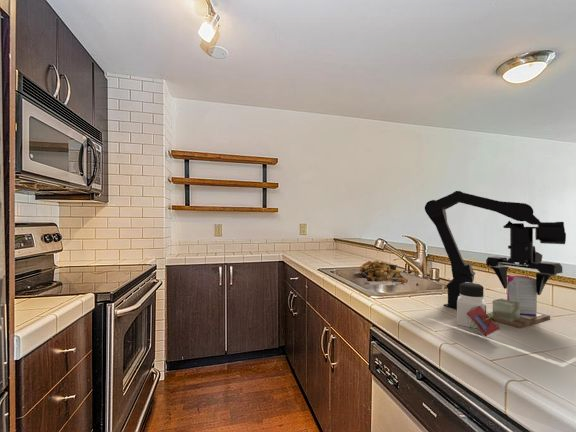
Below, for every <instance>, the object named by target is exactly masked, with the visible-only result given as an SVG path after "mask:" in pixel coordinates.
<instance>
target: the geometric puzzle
mask: <svg viewBox="0 0 576 432" xmlns="http://www.w3.org/2000/svg"><path fill="white" fill-rule="evenodd" d="M485 309H486V310H487V307H486V308H485ZM489 313H492V312H491V311H489V312H486V313H485V311H484V310H483V308H482V307H481V306H475V307H472V308H471V309H470V310H469V311H468V312H467V313H466V314H467V315H468V316H469V317H470V318H471V319H472V321H473V322H474V324H475V325H473V326H472V327H474V326H475V327H476V325H477V327H478V328H479V329H478V328H477V327H476V328H472V327H471V326H470V327H468V329H472V331H474V332H477V331H479V333H480V334H482V335H483V336H485V337H487V336H489V335H490V334H491V335H492V334H493V333H494V332H495V333H496V332H497V331H498V330H501V329H500V325H499V323H497V322H496V321H495V320H494V319H493V320H494V321H493V320H491V319H492V318H493V316H494V315H495V314H496V313H495V314H493V315H490V314H489ZM487 314H489V315H490V316H488V315H487ZM494 317H495V316H494ZM467 318H468V317H467ZM471 319H470V320H471ZM497 321H498V320H497ZM473 322H471V324H472V323H473ZM468 323H469V322H468Z"/></svg>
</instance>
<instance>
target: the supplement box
mask: <svg viewBox="0 0 576 432" xmlns="http://www.w3.org/2000/svg"><path fill="white" fill-rule="evenodd" d="M506 294H507V295H506V296H507V297H506V300H511V301H515V302H520V315H526V316H537V312H538V311H537V308H538V307H537V305H538V300H537V296H538V295H537V291H536V278H534V277H529V276H526V275H525V276H524V275H508V274H507V291H506Z"/></svg>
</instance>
